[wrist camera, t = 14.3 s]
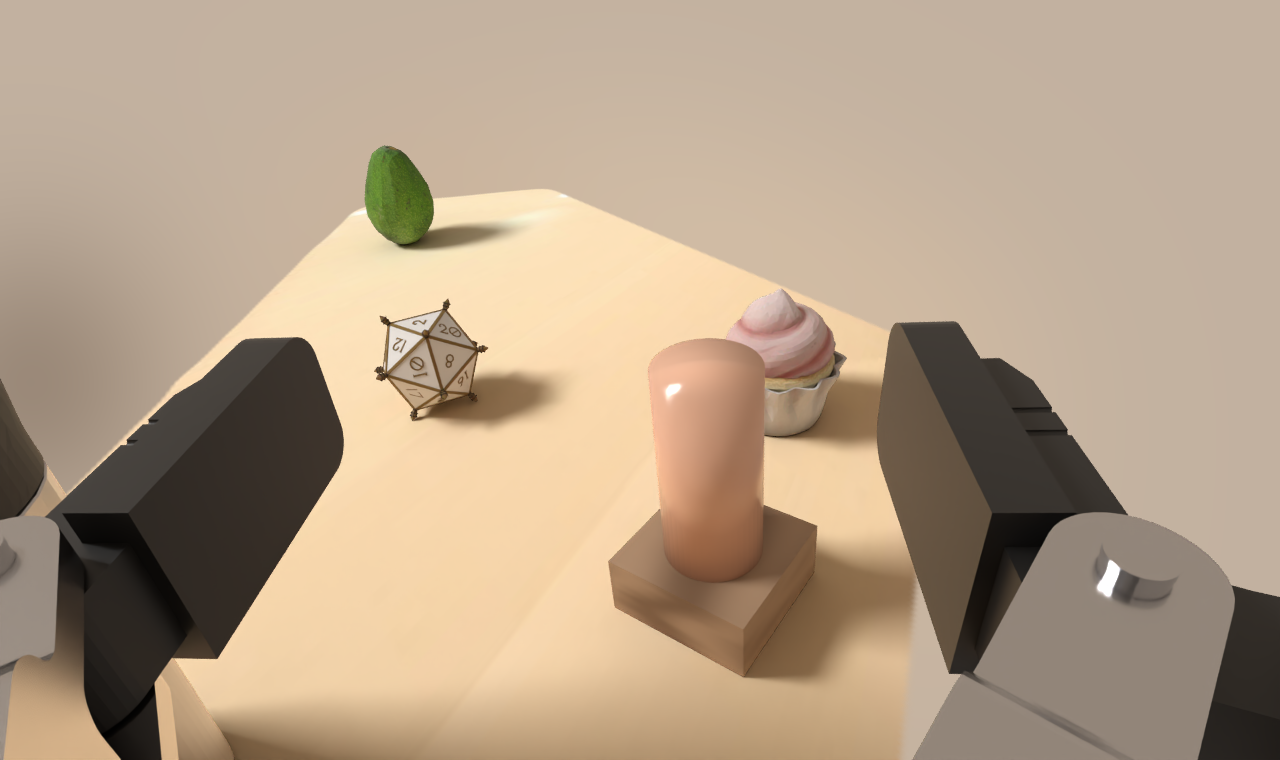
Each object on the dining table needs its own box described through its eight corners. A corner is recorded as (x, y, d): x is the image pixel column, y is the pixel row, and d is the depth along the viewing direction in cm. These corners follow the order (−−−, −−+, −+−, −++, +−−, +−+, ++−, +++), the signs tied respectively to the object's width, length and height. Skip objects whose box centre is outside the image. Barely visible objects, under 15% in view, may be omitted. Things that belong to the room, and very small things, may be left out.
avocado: (406, 257, 87) (380, 157, 81) (364, 248, 91) (336, 151, 85) (454, 235, 93) (433, 139, 86) (412, 227, 97) (389, 134, 90)
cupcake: (862, 400, 55) (875, 278, 49) (804, 467, 48) (811, 336, 43) (754, 367, 60) (754, 254, 54) (689, 424, 54) (683, 302, 48)
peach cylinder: (644, 556, 38) (624, 379, 32) (698, 498, 41) (689, 329, 36) (730, 598, 35) (726, 412, 29) (780, 533, 39) (785, 354, 33)
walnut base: (614, 607, 40) (608, 561, 38) (693, 520, 45) (691, 476, 43) (743, 677, 35) (743, 629, 34) (814, 572, 41) (817, 525, 39)
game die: (460, 424, 63) (493, 313, 63) (476, 444, 55) (513, 317, 55) (353, 398, 59) (387, 281, 59) (352, 416, 51) (392, 280, 51)
